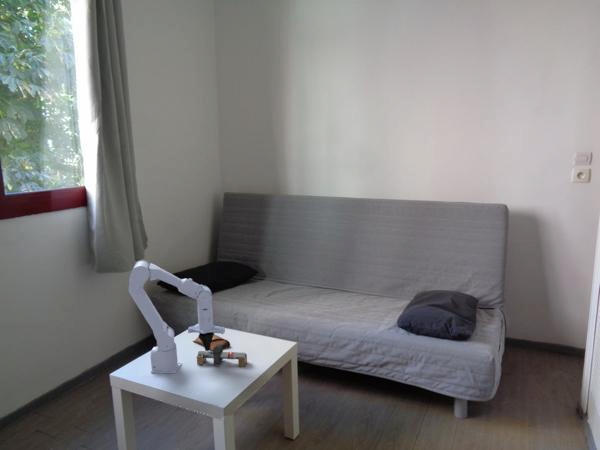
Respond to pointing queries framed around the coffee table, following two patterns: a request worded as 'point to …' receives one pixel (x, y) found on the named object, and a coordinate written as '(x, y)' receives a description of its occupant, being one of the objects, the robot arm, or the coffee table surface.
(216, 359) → the ring
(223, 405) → the coffee table surface
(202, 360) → the pipe
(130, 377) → the coffee table surface
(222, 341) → the sunglasses case
